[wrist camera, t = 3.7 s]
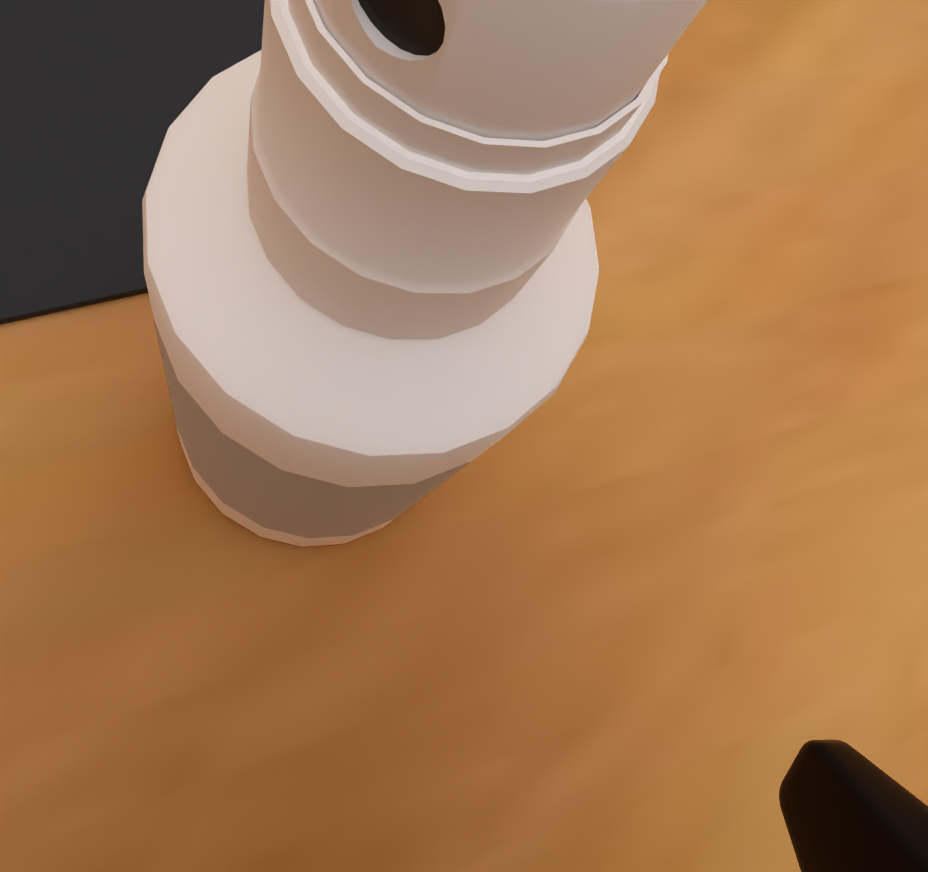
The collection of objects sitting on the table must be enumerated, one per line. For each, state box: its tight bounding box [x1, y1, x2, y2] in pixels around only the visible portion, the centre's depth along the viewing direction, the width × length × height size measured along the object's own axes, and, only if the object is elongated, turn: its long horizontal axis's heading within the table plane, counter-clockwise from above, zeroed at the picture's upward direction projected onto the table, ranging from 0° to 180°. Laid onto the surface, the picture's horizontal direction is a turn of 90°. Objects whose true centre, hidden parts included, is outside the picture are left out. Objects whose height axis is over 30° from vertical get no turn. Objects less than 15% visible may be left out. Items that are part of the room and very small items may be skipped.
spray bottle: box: [142, 0, 708, 547], centre depth 14 cm, size 7×7×18 cm
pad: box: [0, 0, 265, 324], centre depth 24 cm, size 20×12×1 cm, turn 110°
